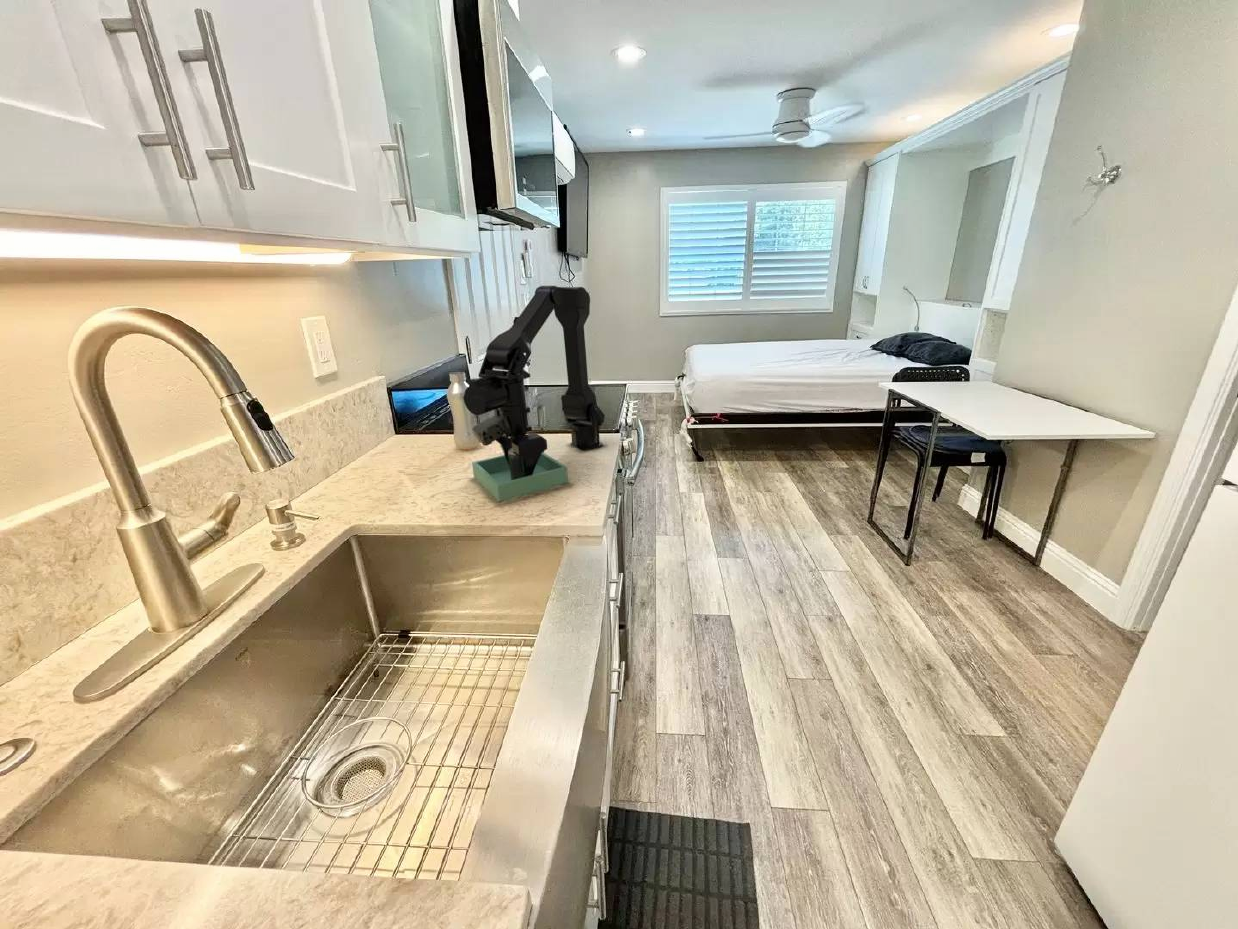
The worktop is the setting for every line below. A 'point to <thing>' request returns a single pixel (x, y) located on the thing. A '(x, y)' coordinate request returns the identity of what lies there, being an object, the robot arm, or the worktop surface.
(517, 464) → the salt shaker
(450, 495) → the worktop surface
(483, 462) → the bin
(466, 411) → the silver bottle
